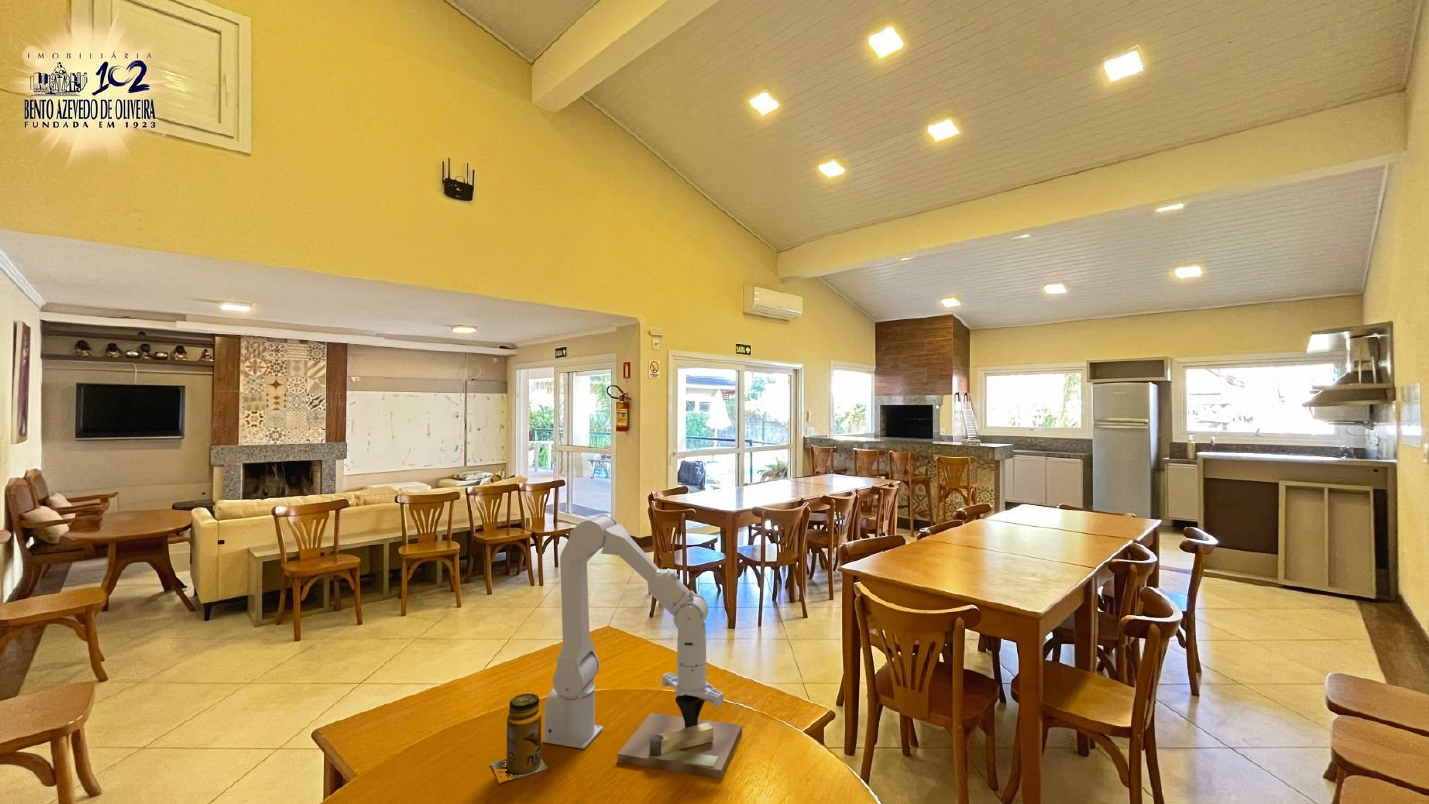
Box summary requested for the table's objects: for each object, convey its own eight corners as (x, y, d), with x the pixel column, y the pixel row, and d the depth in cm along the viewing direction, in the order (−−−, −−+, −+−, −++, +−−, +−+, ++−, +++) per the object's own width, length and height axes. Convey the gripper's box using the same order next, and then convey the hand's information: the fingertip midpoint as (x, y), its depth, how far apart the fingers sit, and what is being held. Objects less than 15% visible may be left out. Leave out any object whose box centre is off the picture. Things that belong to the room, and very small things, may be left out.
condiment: (547, 769, 101) (548, 701, 102) (498, 785, 97) (499, 714, 97) (536, 750, 107) (536, 686, 108) (489, 765, 103) (490, 698, 103)
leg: (652, 757, 101) (652, 743, 102) (647, 749, 104) (647, 736, 104) (713, 741, 106) (713, 728, 107) (708, 734, 109) (707, 722, 109)
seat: (617, 762, 103) (617, 752, 103) (650, 720, 118) (650, 711, 118) (721, 779, 97) (721, 769, 98) (742, 732, 113) (741, 724, 113)
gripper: (651, 657, 111) (650, 728, 110) (706, 678, 101) (706, 755, 101) (675, 647, 116) (675, 714, 115) (730, 665, 107) (730, 738, 106)
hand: (691, 732), depth 108 cm, fingers closed, pressing on leg
